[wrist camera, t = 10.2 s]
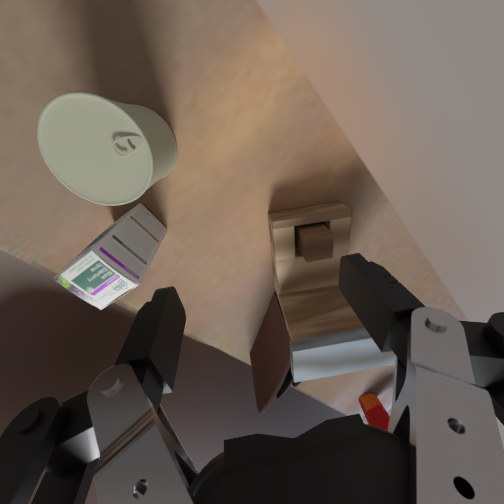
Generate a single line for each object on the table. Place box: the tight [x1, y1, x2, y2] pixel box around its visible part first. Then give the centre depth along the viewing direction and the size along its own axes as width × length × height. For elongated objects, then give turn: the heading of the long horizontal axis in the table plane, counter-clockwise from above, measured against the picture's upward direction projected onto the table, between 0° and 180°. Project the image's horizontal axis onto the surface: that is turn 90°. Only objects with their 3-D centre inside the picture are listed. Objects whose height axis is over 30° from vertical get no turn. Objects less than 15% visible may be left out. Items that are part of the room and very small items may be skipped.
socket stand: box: [268, 202, 397, 383], centre depth 33 cm, size 18×14×18 cm
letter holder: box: [250, 292, 302, 414], centre depth 44 cm, size 10×20×14 cm, turn 165°
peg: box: [294, 222, 334, 262], centre depth 35 cm, size 4×4×7 cm
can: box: [37, 92, 177, 206], centre depth 24 cm, size 9×9×12 cm
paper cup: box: [359, 393, 390, 431], centre depth 63 cm, size 8×8×14 cm
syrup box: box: [54, 203, 167, 310], centre depth 28 cm, size 6×6×14 cm
